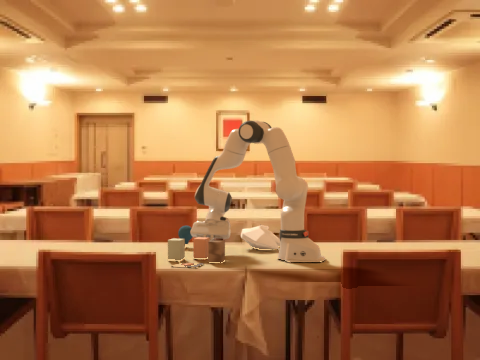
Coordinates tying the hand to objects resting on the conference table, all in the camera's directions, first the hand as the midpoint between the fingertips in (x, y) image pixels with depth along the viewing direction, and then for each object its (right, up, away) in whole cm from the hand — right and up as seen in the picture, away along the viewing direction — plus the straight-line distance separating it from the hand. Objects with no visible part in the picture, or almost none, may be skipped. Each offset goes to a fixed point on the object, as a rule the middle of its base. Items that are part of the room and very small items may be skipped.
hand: (207, 243), depth 268 cm
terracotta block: (-2, -6, -8) cm, 11 cm away
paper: (+28, -5, +21) cm, 36 cm away
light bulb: (-13, -5, +26) cm, 30 cm away
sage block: (-14, -7, -12) cm, 19 cm away
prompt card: (-7, -7, -25) cm, 27 cm away
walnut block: (+6, -7, -18) cm, 20 cm away
